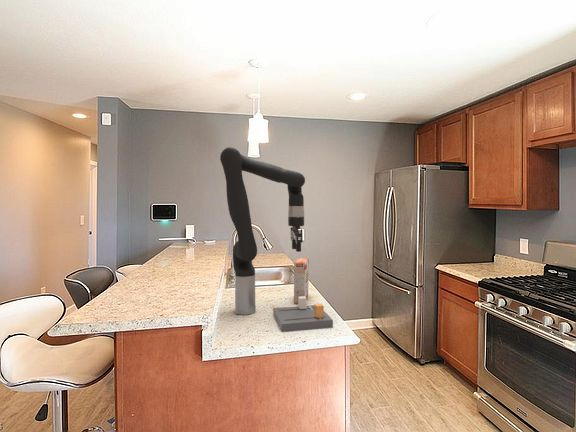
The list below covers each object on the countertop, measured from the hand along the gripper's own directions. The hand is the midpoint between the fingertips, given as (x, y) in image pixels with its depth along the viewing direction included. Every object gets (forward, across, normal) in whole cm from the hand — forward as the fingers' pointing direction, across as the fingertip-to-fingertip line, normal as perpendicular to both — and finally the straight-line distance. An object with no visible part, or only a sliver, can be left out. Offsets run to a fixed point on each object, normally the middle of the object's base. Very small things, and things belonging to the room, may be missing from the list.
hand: (296, 250), depth 151 cm
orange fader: (+25, +21, +4) cm, 33 cm away
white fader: (+25, +9, 0) cm, 26 cm away
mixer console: (+28, +15, -2) cm, 32 cm away
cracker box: (+28, -14, +6) cm, 32 cm away
